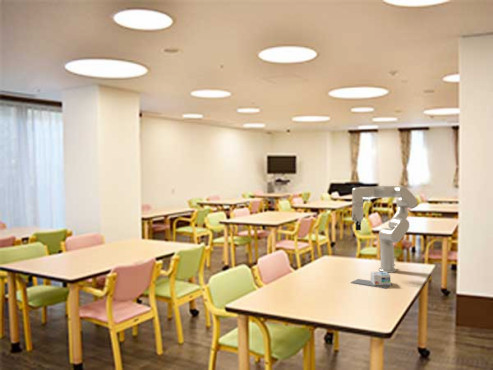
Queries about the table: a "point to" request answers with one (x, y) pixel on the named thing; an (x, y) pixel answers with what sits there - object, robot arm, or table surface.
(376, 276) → the light bulb box
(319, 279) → the table surface
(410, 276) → the table surface
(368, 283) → the mat
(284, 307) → the table surface
